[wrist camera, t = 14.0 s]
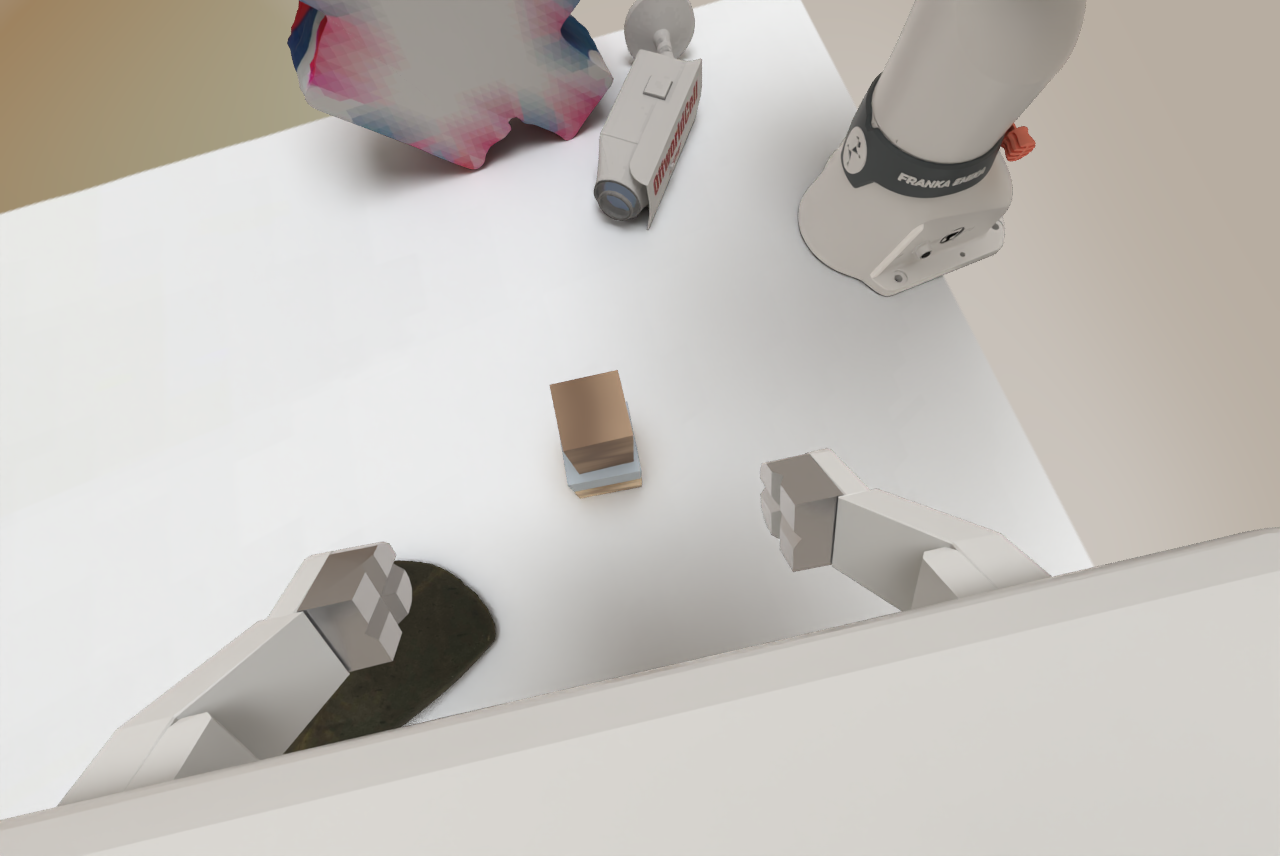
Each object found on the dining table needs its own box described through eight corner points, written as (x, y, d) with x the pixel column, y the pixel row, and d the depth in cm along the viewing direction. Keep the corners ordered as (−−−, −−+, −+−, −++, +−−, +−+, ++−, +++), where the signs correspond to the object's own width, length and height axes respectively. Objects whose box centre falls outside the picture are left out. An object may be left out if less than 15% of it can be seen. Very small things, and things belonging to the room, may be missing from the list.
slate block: (627, 414, 44) (627, 401, 40) (640, 478, 43) (641, 470, 39) (563, 427, 44) (556, 415, 40) (574, 491, 42) (568, 485, 38)
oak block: (630, 428, 48) (629, 416, 44) (641, 486, 46) (641, 480, 42) (570, 439, 47) (564, 428, 44) (580, 498, 46) (575, 493, 42)
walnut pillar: (621, 409, 40) (617, 370, 31) (633, 461, 39) (633, 435, 30) (568, 421, 40) (549, 384, 31) (579, 474, 39) (563, 451, 30)
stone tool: (359, 828, 37) (225, 797, 32) (356, 749, 44) (246, 713, 39) (513, 627, 41) (416, 572, 36) (488, 585, 48) (403, 533, 43)
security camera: (593, 191, 46) (746, 167, 47) (561, 1, 52) (696, -19, 52) (602, 243, 54) (731, 222, 55) (572, 73, 60) (690, 56, 60)
